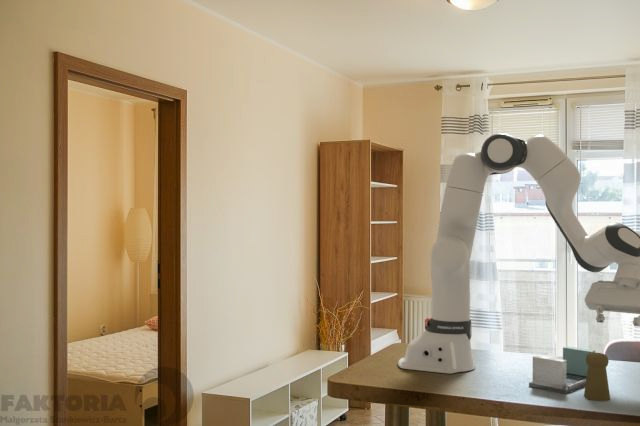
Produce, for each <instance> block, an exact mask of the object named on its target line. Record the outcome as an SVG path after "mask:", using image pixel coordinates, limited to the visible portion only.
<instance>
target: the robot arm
mask: <svg viewBox="0 0 640 426" xmlns="http://www.w3.org/2000/svg"><path fill="white" fill-rule="evenodd" d="M515 168H522V169H524V170H525V171H526V172H527V173H528V174H530V176H531V177H532V178H533V180H534V181H535V182H536V183H537V185H538V186H539V187H540V189H541V190H542V193H543V196H544V198H545V205H546V209H547V211H548V213H549V215H550V216H551V218H552V219H553V221H554V224H555V225H556V226H557V228H558V229H559V231H560V232H561V234H562V235H563V236H562V237H564V239H565V240H566V242H567V243H568V246H569V248H570V249H571V252H572V254H573V257H574V260H575V261H576V262H577V264H578V265H579V266H580V267H581V268H582V269H584V270H585V271H587V272H591V273H600V272H601V271H604V270H605V269H606V268H608V267H609V266H610V265H612V264H614V263H616V264H617V270H616V272H615V275H614V279H613V280H598V281H594V282H592V283H591V284H590V288H589V289H588V291H587V293H586V295H585V297H584V303H585V305H586V307H587V308H588V310H592V311H596V314H597V315H596V317H595V320H596V322H597V323H601V324H602V323H603V324H604V322H605V319H606V317H605V316H604V312H611V313H612V312H613V313H614V312H615V313H621V314H622V313H624V314H632V315H633V314H635V315H636V314H637V315H638V316H636V317H634V318H633V320H632V324H633V327H639V328H640V231H637V230H634V229H632V228H630V227H629V226H627V225H626V224H623V223H620V222H611V223H609V224H607V225H606V226H603V227H602V228H600V229H598V231H596V232H594V233H592V234H591V235H590V234H588V233H587V232H586V230H585V228H584V227H583V225H582V224H581V222H580V221H579V219H578V217H577V216H576V215H575V213H574V212H575V211H574V210H573V201H574V199H575V196H576V194H577V192H578V190H579V188H580V185H581V173H580V170H579V169H578V167H577V166H576V164H575V163H574V162H573V161H572V160H571V158H570V157H569V156H568V155H567V153H565V151H563V150H562V148H561V147H559V146H558V145H557V143H555V142H554V141H553V140H552V139H550V138H549V137H548V136H546V135H544V134H537V135H533V136H531V137H529V138H527V139H526V140H524V139H521V138H520V137H517V136H514V135H511V134H508V133H504V132H503V133H502V132H499V133H494V134H492V135H490V136H488V137H487V138H486V140H485V141H484V142H483V143H482V146H481V150H480V151H479V152H475V153H473V152H464V153H463V152H462V153H460V154H458V155H456V156H455V158H454V160H453V163H452V164H451V168H450V170H449V173H448V176H447V178H446V179H447V180H446V184H445V189H444V194H443V199H442V204H441V209H440V212H439V221H438V227H437V235H436V239H435V242H434V243H433V245H432V247H431V250H430V279H431V282H430V283H431V294H432V295H431V317H426V318H425V319H424V329H425V330H424V331H423V332H421V333H420V334H419V335H417V336H416V337H415V338H414V339H412V340H411V341H410V342H409V343H408V345H407V347H406V351H405V356H404V357H401V358H400V359H398V362H397V363H398V364H397V365H398V368H401V369H405V370H413V371H414V370H415V371H421V372H431V373H440V374H441V373H442V374H451V375H452V374H455V373H461V372H468V371H472V370H475V368H476V365H475V362H474V358H473V352H472V343H471V339H472V334H473V333H472V332H473V331H472V330H473V328H472V326H473V325H472V319H471V311H470V310H471V309H470V308H471V306H470V305H471V300H470V299H471V290H470V289H471V288H470V287H471V286H470V282H471V281H470V260H471V255H472V250H473V247H474V241H475V237H476V231H477V225H478V220H479V216H480V211H481V205H482V199H483V196H484V190H485V187H486V186H485V185H486V183H487V179H488V177H489V176H492V175H503V174H508V173H509V172H512V171H513V170H514V169H515Z"/></svg>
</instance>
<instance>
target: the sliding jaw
mask: <svg viewBox="0 0 640 426" xmlns="http://www.w3.org/2000/svg"><path fill="white" fill-rule="evenodd" d="M589 353H596V350H593V349H586V348H578V347H573V346H564V347H562V360H567V363H566V373H570V374H576V375H581V376H587V371H588V365H587V363H586V356H587V355H588V354H589Z"/></svg>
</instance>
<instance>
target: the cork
mask: <svg viewBox="0 0 640 426" xmlns="http://www.w3.org/2000/svg"><path fill="white" fill-rule="evenodd" d="M609 360H610V359H609V357H608V356H607V354H605V353H602V352H595V353H589V354H588V355H587V356H586V363H587V365H588V371H587V378H586V385H585V386H584V392H583V393H584V394H583V397H585V399H586V398H587V400H589V401H597V402H607V401H608V402H609V401H611V395H610V388H609V380H608V373H607V367H608V366H609Z"/></svg>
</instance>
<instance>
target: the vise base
mask: <svg viewBox="0 0 640 426" xmlns="http://www.w3.org/2000/svg"><path fill="white" fill-rule="evenodd" d="M566 363H567V360H563V358H562V359H561V358H555V357H549V356H543V355H533V356H532V381H530V382H528V387H530V388H534V389H535V388H536V389H538V390H539V389H540V390H544V391H549V392H554V393H559V394H564V395H567V394H569V393H571V392H574V391H576V390H579V389H581V388H585V385H586V378H587V376H581V375H576V374H570V373H566Z"/></svg>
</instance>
